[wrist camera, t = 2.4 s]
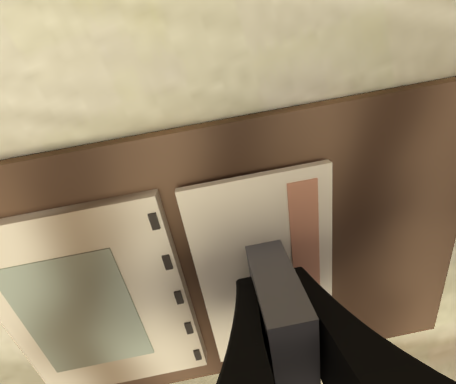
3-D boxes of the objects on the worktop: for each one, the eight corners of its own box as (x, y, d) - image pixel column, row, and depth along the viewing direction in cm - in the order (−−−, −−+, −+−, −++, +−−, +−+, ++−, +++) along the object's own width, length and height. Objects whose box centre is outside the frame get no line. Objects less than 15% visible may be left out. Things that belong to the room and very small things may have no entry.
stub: (327, 159, 10) (407, 214, 6) (328, 332, 15) (377, 430, 11) (175, 188, 10) (161, 262, 6) (220, 354, 14) (228, 462, 11)
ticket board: (470, 73, 11) (518, 74, 9) (421, 314, 17) (445, 340, 15) (-76, 174, 10) (-126, 193, 9) (71, 386, 16) (57, 422, 15)
